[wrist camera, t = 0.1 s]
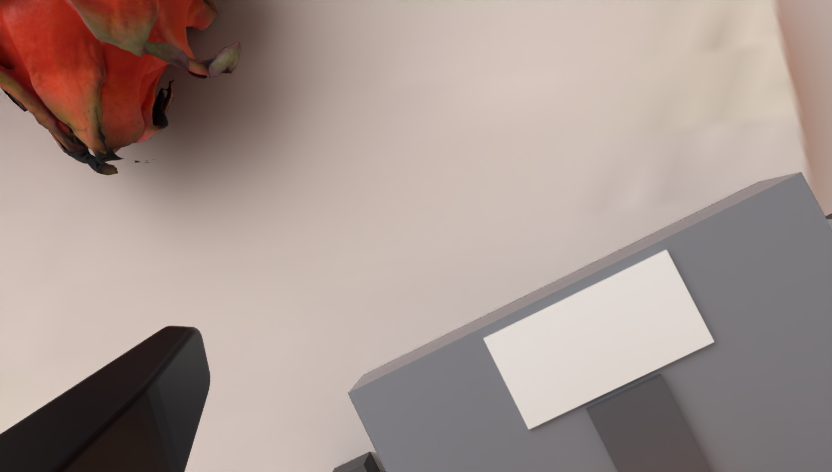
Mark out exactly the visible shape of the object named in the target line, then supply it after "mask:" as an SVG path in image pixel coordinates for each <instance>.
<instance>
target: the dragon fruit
mask: <svg viewBox="0 0 832 472" xmlns="http://www.w3.org/2000/svg"><path fill="white" fill-rule="evenodd" d="M219 12H220V8H219V4H218V3H217V1H216V0H0V87H1V88H2V90H3V91H4V92H5V93H6V94H7V95H8V96H9V97H10V99H11V100H12V101H13V102H14V103H15V104H17V105H18V106H19V107H20V108H21V109H22V110H23V111H24V112H25V111H28V110H29V111H30V112H31V113H32V114H33V115H34V116H35V118H36V120H37V121H38V123H39V124H41V125H42V126H43V127H45V128H46V129H48V130H49V132H50V133H51V134H52V136H53V137H54V139H55V140H56V142H57V143H58V145H59V146H60V147H61V149H62V150H63V151H64V152H65V153H67V154H68V155H69V156H71V157H73V158H75V159H76V160H78V161H80V162H82V163H85V164H87V163H88V165H89V166H90V167H91V168H92V169H93V170H94V171H96V172H97V173H100V174H104V175H112V174H117V173H118V171H117V168H115V167H114V166H113V165H111V164H109V165H108V164H107V163H105V162H107V161H111V160H120V159H123V158H120V157H118V156H117V155H116V154H115V153H116V152H117V151H118V150H119V149H120V148H122V147H125V146H128V145H130V144H132V143H139V142H143V141H145V140H147V139H149V138H150V137H151V136H153V135H154V134H156V133H157V132H159V131H160V130H162V129H164V128H166V127H167V126H168V121H167V117H166V115H165V114H166V112H167V110H168V107H169V104H170V102H171V100H172V99H173V81H174V80H172V81H170V82H169V86H168V88H167V89H163V88H161V89H160V91H159V93H158V96H157V98H156V100H155V90H156V86H157V83H158V81H159V78H160V77H161V75H162V74H163V72H164V70H165V68H166V66H167V64H171V65H173V66H175V67H177V68H179V69H182V70H184V71H185V72H186V73H188V74H190V75H191V76H193V77H196V78H200V79H205V78H207V77H208V76H207V75H209V77H210V78H214V77H217V76H219V75H220V74H221V73H230V74H231V73H232V72H233V71H234V69H235V67H236V64H237V61H238V59H239V54H240V42H236V43H234V44H233V45H231V46H229V47H225V48H224V49H223V50H221V51H220V52H219V53H218V54H217V55H216V56H215V57H213V58H212V59H210V60H197V59H196V58H195V56H194V55H193V53H192V50H191V49H190V47H189V45H188V42H187V36H186V27H189V26H191V27H193V28H196V29H199V30H203V29H206V28H207V27H209V25H210V24H211V23H212V22H213V20H214V19H215V18H216V16H217V15H218V14H219ZM163 90H167V96H166V98H165V96H164V92H163ZM164 98H165V99H164ZM172 101H173V100H172ZM154 102H155V103H154ZM27 109H28V110H27ZM88 147H89V149H91V150H92V151H93V152H94V154H95V156H96V157H95V156H93V155H91V154H90V153H89V150H88ZM152 160H153V159H152ZM146 161H147V160H146ZM136 162H139V161H136ZM136 162H135V163H136ZM144 163H147V162H144Z"/></svg>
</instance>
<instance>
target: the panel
mask: <svg viewBox="0 0 832 472" xmlns="http://www.w3.org/2000/svg"><path fill="white" fill-rule="evenodd" d="M348 394H349V397H350V399H351V401H352V403H353V405H354V407H355V409H356V411H357V413H358V415H359V417H360V419H361V421H362V423H363V425H364V427H365V430H366V432H367V434H368V436H369V438H370V440H371V442H372V444H373V446H374V448H375V450H376V452H377V454H378V456H379V458H380V460H381V463H382V465H383V467H384V469H385V471H386V472H832V229H831V227H830V225H829V223H828V221H827V219H826V217H825V215H824V214H823V212H822V210H821V208H820V206H819V204H818V202H817V200H816V199H815V197H814V195H813V193H812V191H811V189H810V187H809V185H808V184H807V182H806V180H805V178H804V176H803V174H802V172H799V173H795V174H791V175H786V176H782V177H778V178H773V179H769V180H764V181H760V182H757V183H755V184H753V185H751V186H749V187H747V188H745V189H743V190H741V191H739V192H737V193H735V194H733V195H731V196H729V197H727V198H725V199H723V200H721V201H719V202H717V203H715V204H712V205H710V206H708V207H706V208H704V209H702V210H700V211H698V212H696V213H694V214H692V215H690V216H688V217H686V218H684V219H682V220H680V221H678V222H676V223H674V224H672V225H669V226H667V227H665V228H663V229H661V230H659V231H657V232H655V233H653V234H651V235H649V236H647V237H645V238H643V239H641V240H639V241H637V242H635V243H633V244H631V245H629V246H627V247H624V248H622V249H620V250H618V251H616V252H614V253H612V254H610V255H608V256H606V257H604V258H602V259H600V260H598V261H596V262H594V263H592V264H590V265H588V266H586V267H584V268H581V269H579V270H577V271H575V272H573V273H571V274H569V275H567V276H565V277H563V278H561V279H559V280H557V281H555V282H553V283H551V284H549V285H547V286H545V287H543V288H541V289H539V290H536V291H534V292H532V293H530V294H528V295H526V296H524V297H522V298H520V299H518V300H516V301H514V302H512V303H510V304H508V305H506V306H504V307H502V308H500V309H498V310H496V311H493V312H491V313H489V314H487V315H485V316H483V317H481V318H479V319H477V320H475V321H473V322H471V323H469V324H467V325H465V326H463V327H461V328H459V329H457V330H455V331H453V332H451V333H448V334H446V335H444V336H442V337H440V338H438V339H436V340H434V341H432V342H430V343H428V344H426V345H424V346H422V347H420V348H418V349H416V350H414V351H412V352H410V353H408V354H405V355H403V356H401V357H399V358H397V359H395V360H393V361H391V362H389V363H387V364H385V365H383V366H381V367H379V368H377V369H375V370H373V371H371V372H369V373H367V374H365V375H363V376H362V377H361V379H360V380H359V381H358V382H357V383H356V384H355V385H354V387H353V388H352V389H351V390H350V391H349V392H348Z"/></svg>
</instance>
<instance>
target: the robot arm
mask: <svg viewBox="0 0 832 472" xmlns="http://www.w3.org/2000/svg"><path fill="white" fill-rule="evenodd" d="M209 386H210V371H209V367H208V362H207V357H206V353H205V348H204V343H203V339H202V335H201V333H200V331H199V330H198V329H197V328H195V327H185V326H167V327H165V328H163V329H161V330H160V331H158V332H157V333H155V334H154V335H152V336H150V337H149V338H147V339H146V340H144V341H143V342H141V343H140V344H138V345H137V346H135V347H134V348H132V349H130V350H129V351H127V352H126V353H124V354H123V355H121V356H120V357H118V358H117V359H115V360H114V361H112V362H110V363H109V364H107V365H106V366H104V367H103V368H101V369H100V370H98V371H97V372H95V373H94V374H92V375H90V376H89V377H87V378H86V379H84V380H83V381H81V382H80V383H78V384H77V385H75V386H74V387H72V388H71V389H69V390H67V391H66V392H64V393H63V394H61V395H60V396H58V397H57V398H55V399H54V400H52V401H51V402H49V403H47V404H46V405H44V406H43V407H41V408H40V409H38V410H37V411H35V412H34V413H32V414H31V415H29V416H27V417H26V418H24V419H23V420H21V421H20V422H18V423H17V424H15V425H14V426H12V427H11V428H9V429H8V430H6V431H4V432H3V433H1V434H0V472H185V468H186V465H187V462H188V458H189V455H190V452H191V448H192V445H193V442H194V438H195V435H196V432H197V428H198V425H199V422H200V418H201V415H202V412H203V408H204V405H205V402H206V398H207V395H208V391H209Z"/></svg>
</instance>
